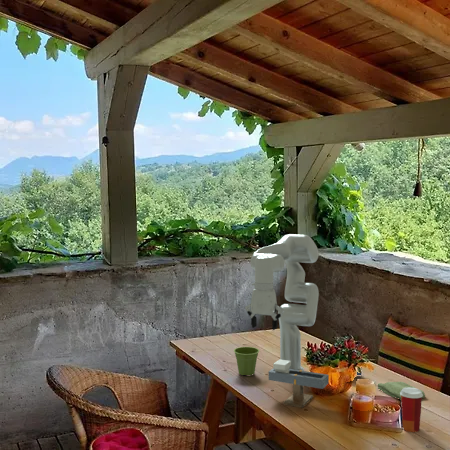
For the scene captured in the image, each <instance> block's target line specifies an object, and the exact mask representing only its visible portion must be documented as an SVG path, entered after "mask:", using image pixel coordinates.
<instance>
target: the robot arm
mask: <svg viewBox="0 0 450 450" xmlns="http://www.w3.org/2000/svg"><path fill="white" fill-rule="evenodd" d="M318 259H319V249H318V247H317V245H316V243H315V242H314V240H313V239H312V238H311V237H310V235H307V234H296V233H295V234H294V233H289V234H284V235H283V236H282V237H281V238H280V239H279V240H278V241H277V242H276V243H273V244H270V245H268V246H267V245H266V246H263V247H260V248H258V249H257V250H256V251H254V253H253V254H252V255H251V258H250V267H251V269H252V270H253V271H254V282H252V283H251V286H252V287H254V289H252V293H251V302H250V303H249V304H248V305H246V306H245V307H244V310H245V312H246V313H247V314H248V315H249V317H250V320H251V321H250V322H251V323H250V325H251V329H254V328H257V325H258V323H257V322H258V321H257V320H258V319H257V315H263V316H271V318H272V319H273V320H271V321H272V323H271V324H272V325H271V329H272V331H275V330H277V328H278V323H279V336H280V338H279V339H280V340H279V344H280V345H279V347H280V348H279V349H280V351H279V352H280V353H279V356H280V358H279V359H281V360H288V361H291V366H290V367H289V369H294V370H302V371H305V368H304V367H303V366H302V364H301V363H302V362H301V360H302V359H301V358H302V355H301V353H302V351H301V350H302V347H301V345H302V344H301V342H302V337H301V336H302V333H301V331H300V329H299V327H298V326H301V327H312V326H314V324H315V322H316V318H317V312H318V303H319V295H320V293H319V292H320V291H319V287H318V286H317V284H316V283H313V282H305V277H306V272H305V270H304V268H303V266H302V265H301V264H300V263H303V264H304V263H305V264H313V263H316V262H317V260H318ZM285 267H286V271H287V272H286V273H287V274H286V281H285V288H284V299H285V300H286V301H288V302H290V303H283V304H281V305H280V306H279V305H278V303H277V300H278V299H277V294H276V290H275V289H274V273H278V272H280V273H281V272H282V271H283V269H284V268H285ZM292 302H293V303H292ZM297 303H301V304H297Z"/></svg>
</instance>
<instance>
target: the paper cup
mask: <svg viewBox="0 0 450 450" xmlns="http://www.w3.org/2000/svg"><path fill="white" fill-rule="evenodd" d="M419 389H420V388H416V387H415V388H411V387H407V388H403V389H402V391H401V392H400V395H401V401H400V402H401V417H402V420H401V421H402V422H401V423H402V429H403V428H404V429H403V430H404V431H406V432H408V433H419V431H420V427H421V416H422V415H421V413H422V401H423V398H422V396H423V394H422V392H421V391H420V390H421V389H420V390H419Z"/></svg>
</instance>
